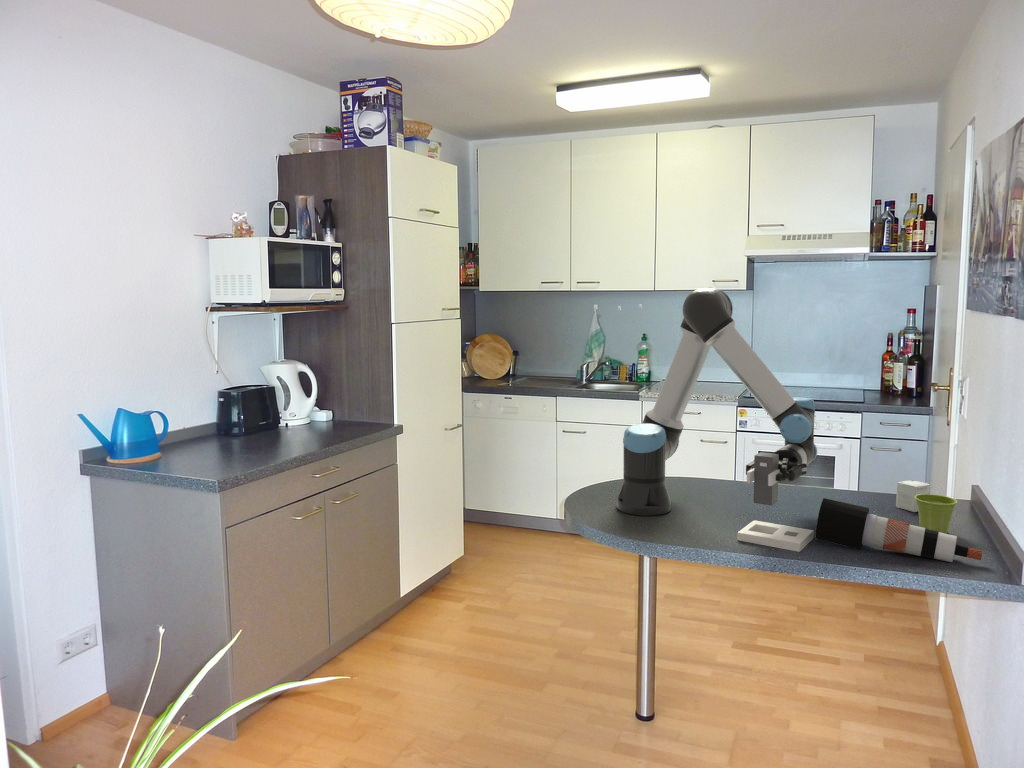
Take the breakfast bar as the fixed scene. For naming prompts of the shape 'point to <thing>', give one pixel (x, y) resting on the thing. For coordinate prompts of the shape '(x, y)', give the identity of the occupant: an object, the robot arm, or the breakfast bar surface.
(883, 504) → the breakfast bar surface
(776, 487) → the block
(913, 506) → the skincare box
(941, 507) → the plant pot
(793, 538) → the white base plate
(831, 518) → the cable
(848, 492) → the breakfast bar surface
